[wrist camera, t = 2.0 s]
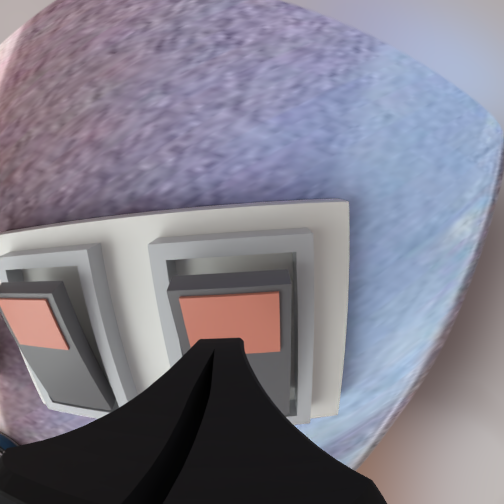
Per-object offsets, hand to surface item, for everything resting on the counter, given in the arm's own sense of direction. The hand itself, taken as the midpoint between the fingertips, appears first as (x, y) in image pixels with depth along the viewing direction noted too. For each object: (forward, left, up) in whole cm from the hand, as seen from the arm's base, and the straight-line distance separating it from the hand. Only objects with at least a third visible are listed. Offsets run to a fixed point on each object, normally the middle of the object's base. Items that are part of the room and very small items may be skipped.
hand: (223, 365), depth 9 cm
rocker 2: (-3, 0, -5) cm, 6 cm away
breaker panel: (-3, +6, -9) cm, 11 cm away
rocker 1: (-3, +11, -5) cm, 12 cm away
